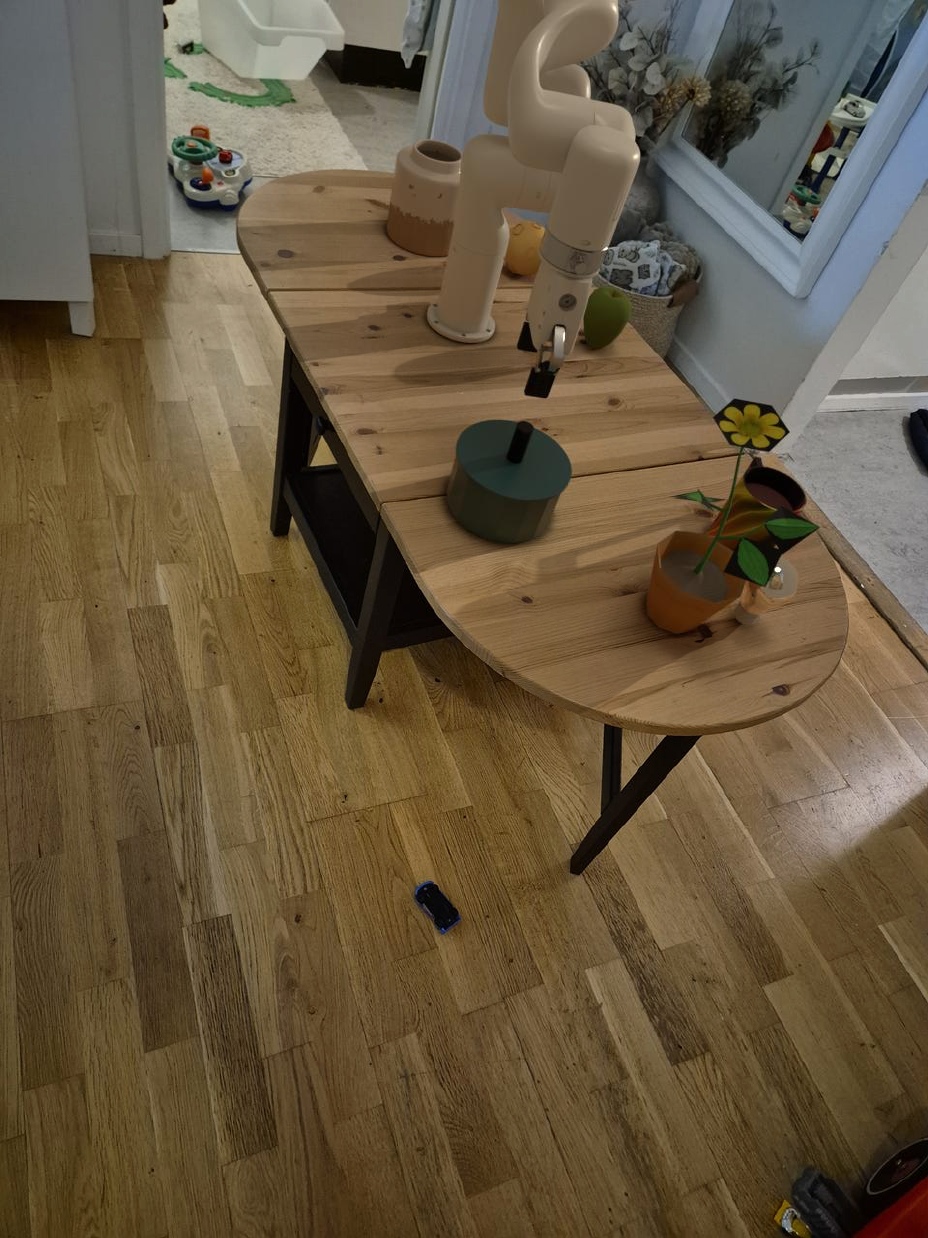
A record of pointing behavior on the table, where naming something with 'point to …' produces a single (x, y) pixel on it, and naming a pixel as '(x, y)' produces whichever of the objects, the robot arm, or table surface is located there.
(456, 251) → the robot arm
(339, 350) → the table surface
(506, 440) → the lid
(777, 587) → the light bulb
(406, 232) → the vase
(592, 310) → the apple
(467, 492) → the pot
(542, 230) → the stress ball
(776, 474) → the mug
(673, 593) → the potted plant
